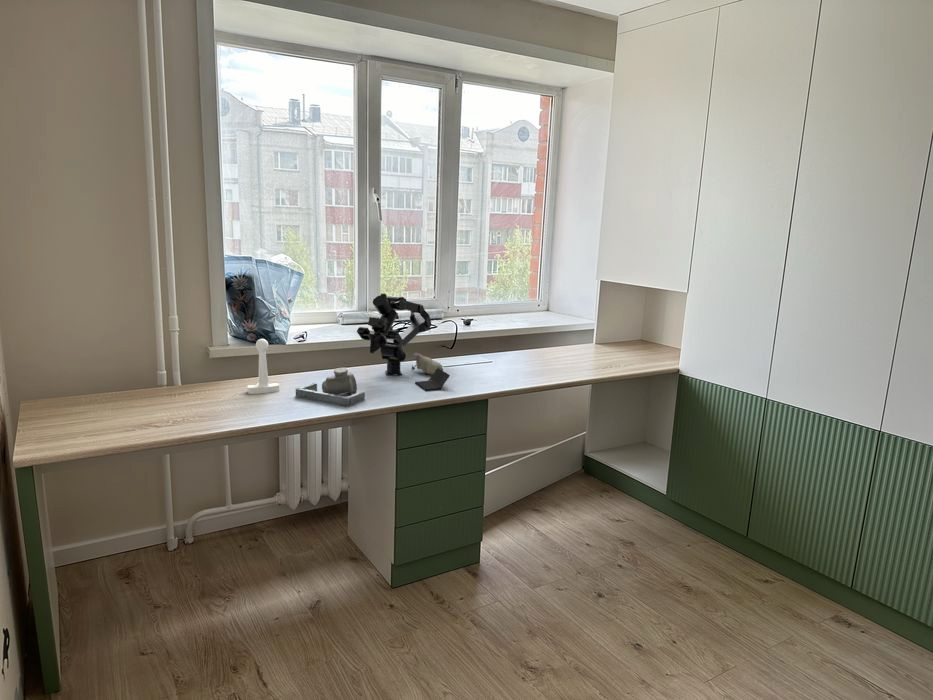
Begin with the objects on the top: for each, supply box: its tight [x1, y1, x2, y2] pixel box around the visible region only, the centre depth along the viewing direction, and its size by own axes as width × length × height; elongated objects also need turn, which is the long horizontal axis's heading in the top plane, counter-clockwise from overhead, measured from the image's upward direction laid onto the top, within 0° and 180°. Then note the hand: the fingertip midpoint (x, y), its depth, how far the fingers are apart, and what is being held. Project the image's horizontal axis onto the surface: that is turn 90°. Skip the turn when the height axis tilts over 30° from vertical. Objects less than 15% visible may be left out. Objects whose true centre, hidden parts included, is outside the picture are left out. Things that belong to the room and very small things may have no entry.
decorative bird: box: [411, 351, 444, 375], centre depth 266 cm, size 6×17×8 cm, turn 45°
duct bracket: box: [295, 382, 366, 408], centre depth 227 cm, size 10×23×3 cm, turn 64°
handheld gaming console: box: [414, 368, 450, 392], centre depth 248 cm, size 13×8×11 cm
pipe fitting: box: [321, 367, 358, 395], centre depth 231 cm, size 12×8×10 cm
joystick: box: [246, 338, 280, 395], centre depth 232 cm, size 11×8×20 cm
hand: (371, 352), depth 248 cm, fingers closed
